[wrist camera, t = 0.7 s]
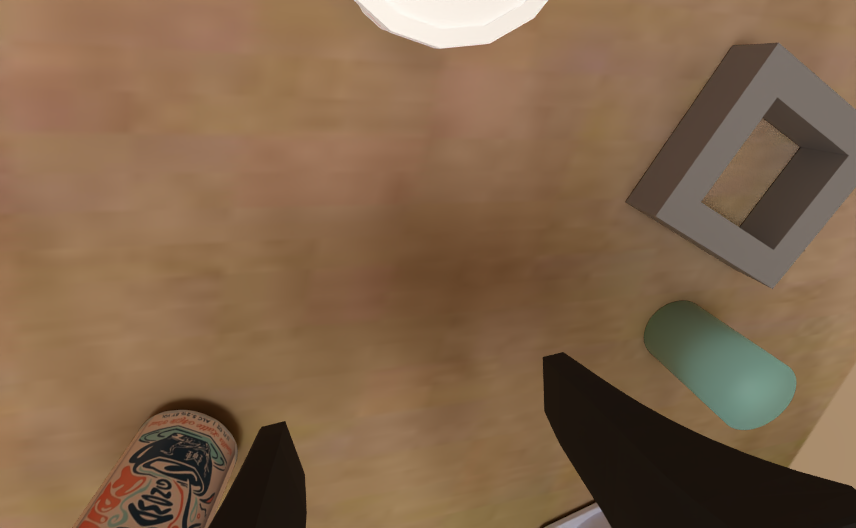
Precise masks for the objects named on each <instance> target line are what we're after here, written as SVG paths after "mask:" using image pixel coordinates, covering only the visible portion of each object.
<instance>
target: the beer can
mask: <svg viewBox="0 0 856 528" xmlns="http://www.w3.org/2000/svg"><path fill="white" fill-rule="evenodd" d="M237 453H238V450H237V444H236V442H235V440H234V437H233V435H232V434H231V433H230V432H229V431H228V430H227V429H226V427H225V426H224V425H223V424H221V423H220V422H219V421H218V420H216V419H214V418H212V417H210V416H208V415H206V414H203V413H200V412H196V411H191V410H173V411H165V412H162V413H159V414H157V415H154V416H153V417H151V418H149V419H148V420H147V421H146V422H145V423H144V424H143V425H142V426H141V428H140V429H139V431H138V433H137V434H136V436H135V437H134V438H133V440H132V441H131V443H130V444H129V446H128V447H127V449H126V450H125V452H124V453H123V454H122V456H121V457H120V459H119V460H118V462H117V463H116V465H115V466H114V468H113V469H112V470H111V472H110V473H109V475H108V476H107V478H106V479H105V481H104V482H103V484H102V485H101V486H100V488H99V489H98V491H97V492H96V494H95V495H94V497H93V498H92V499H91V501H90V502H89V504H88V505H87V507H86V508H85V510H84V511H83V513H82V514H81V515H80V517H79V518H78V520H77V521H76V523H75V524H74V526H73V527H72V528H208V527H209V525H210V523H211V522H212V520H213V517H214V515H215V512H216V510H217V507H218V505H219V502H220V500H221V497H222V495H223V493H224V490H225V488H226V485H227V483H228V480H229V478H230V475H231V473H232V470H233V468H234V466H235V463H236V460H237Z"/></svg>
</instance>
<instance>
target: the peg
mask: <svg viewBox="0 0 856 528" xmlns="http://www.w3.org/2000/svg"><path fill="white" fill-rule="evenodd" d="M644 343H645V346H646V348H647V349H648V351H649V352H650V353H651V354H652V355H653V356H654V357H656V358H657V359H658V360H659V361H660V362H661V363H662V364H663V365H664V366H665V367H666V368H667V369H668V370H669V371H670V372H672V373H673V374H674V375H675V376H676V377H677V378H678V379H679V380H680V381H681V382H682V383H683V384H684V385H685V386H687V387H688V388H689V389H690V390H691V391H692V392H693V393H694V394H695V395H696V396H697V397H698V398H699V399H700V400H702V401H703V402H704V403H705V404H706V405H707V406H708V407H709V408H710V409H711V410H712V411H713V412H714V413H715V414H717V415H718V416H719V417H720V418H721V419H722V420H723V421H724V422H725V423H726V424H727V425H729V426H730V427H732V428H735V429H739V430H750V429H755V428H758V427H761V426H763V425H765V424H767V423H769V422H771V421H772V420H774V419H775V418H776V417H778V416H779V415H780V414H781V413H782V412H783V411H784V410H785V409H786V407H787V406H788V405H789V403H790V402H791V400H792V398H793V396H794V393H795V389H796V377H795V374H794V372H793V371H792V369H791V368H790V367H788V366H787V365H786V364H784V363H783V362H781V361H780V360H778V359H777V358H775V357H774V356H772V355H771V354H769V353H768V352H766V351H765V350H763V349H762V348H760V347H759V346H757V345H756V344H754V343H753V342H751V341H750V340H748V339H747V338H745V337H744V336H742V335H741V334H739V333H738V332H737V331H735V330H734V329H732V328H731V327H729V326H728V325H726V324H725V323H723V322H722V321H720V320H719V319H717V318H716V317H714V316H713V315H711V314H710V313H708V312H707V311H705V310H704V309H702V308H701V307H699V306H698V305H696V304H695V303H693V302H690V301H676V302H672V303H670V304H667V305H665V306H664V307H662V308H661V309H659V310H658V311H657V312H656V313H655V314H654V315H653V316H652V317H651V319H650V320H649V322H648V324H647V326H646V328H645V332H644Z"/></svg>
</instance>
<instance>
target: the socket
mask: <svg viewBox="0 0 856 528" xmlns="http://www.w3.org/2000/svg"><path fill="white" fill-rule="evenodd" d="M762 118H764V119H765V120H767V121H768V122H769V123H770V124H772V125H773V126H774V127H776V128H777V129H778V130H779V131H781V132H782V133H783V134H784V135H786V136H787V137H788V138H790V139H791V140H792V141H793V142H795V143H796V144H797V145H799V146H800V147H801V148H800V149H799V150H798V152H797V153H796V154H795V156H794V157H793V158H792V159H791V161H790V162H789V163H788V165H787V166H786V167H785V169H784V170H783V171H782V173H781V174H780V175H779V176H778V178H777V179H776V180H775V182H774V183H773V184H772V186H771V187H770V188H769V190H768V191H767V192H766V193H765V195H764V196H763V197H762V199H761V200H760V201H759V203H758V204H757V205H756V207H755V208H754V209H753V210H752V212H751V213H750V214H749V216H748V217H747V218H746V220H745V221H744V222H743V224H742V225H741V226H740V227H738V226H736V225H735V224H733V223H732V222H730V221H729V220H727V219H726V218H724V217H723V216H721V215H720V214H718V213H717V212H715V211H714V210H712V209H711V208H709V207H708V206H706V205H705V204H703V203H701V201H702V200H703V198H704V197H705V196H706V194H707V193H708V192H709V190H710V189H711V187H712V186H713V185H714V183H715V182H716V181H717V179H718V178H719V177H720V175H721V174H722V172H723V171H724V170H725V168H726V167H727V166H728V164H729V163H730V161H731V160H732V159H733V157H734V156H735V155H736V153H737V152H738V150H739V149H740V148H741V146H742V145H743V144H744V142H745V141H746V140H747V138H748V137H749V135H750V134H751V133H752V131H753V130H754V129H755V127H756V126H757V124H758V123H759V122H760V120H761V119H762ZM855 187H856V109H854V108H853V107H852V106H851V105H850V104H849V103H847V102H846V101H845V100H844V99H843V98H842V97H841V96H839V95H838V94H837V93H836V92H835V91H834V90H833V89H831V88H830V87H829V86H828V85H827V84H826V83H824V82H823V81H822V80H821V79H820V78H819V77H818V76H816V75H815V74H814V73H813V72H812V71H811V70H809V69H808V68H807V67H806V66H805V65H804V64H803V63H801V62H800V61H799V60H798V59H797V58H796V57H795V56H793V55H792V54H791V53H790V52H789V51H788V50H786V49H785V48H784V47H783V46H782V45H781V44H780V43H767V44H751V45H735V46H732V47H731V49H730V50H729V52H728V53H727V55H726V56H725V58H724V59H723V61H722V62H721V63H720V65H719V66H718V68H717V69H716V71H715V72H714V74H713V75H712V77H711V78H710V80H709V81H708V82H707V84H706V85H705V87H704V88H703V90H702V91H701V93H700V94H699V96H698V97H697V99H696V100H695V101H694V103H693V104H692V106H691V107H690V109H689V110H688V112H687V113H686V115H685V116H684V117H683V119H682V120H681V122H680V123H679V125H678V126H677V128H676V129H675V131H674V132H673V134H672V135H671V136H670V138H669V139H668V141H667V142H666V144H665V145H664V147H663V148H662V150H661V151H660V153H659V154H658V155H657V157H656V158H655V160H654V161H653V163H652V164H651V166H650V167H649V169H648V170H647V172H646V173H645V174H644V176H643V177H642V179H641V180H640V182H639V183H638V185H637V186H636V188H635V189H634V190H633V192H632V193H631V195H630V196H629V198H628V199H627V201H626V203H628V204H630V205H631V206H633V207H634V208H636V209H638V210H639V211H641V212H643V213H644V214H646V215H647V216H649V217H651V218H652V219H654V220H656V221H657V222H659V223H660V224H662V225H664V226H665V227H667V228H669V229H670V230H672V231H673V232H675V233H677V234H678V235H680V236H681V237H683V238H685V239H686V240H688V241H690V242H691V243H693V244H694V245H696V246H698V247H699V248H701V249H703V250H704V251H706V252H707V253H709V254H711V255H712V256H714V257H716V258H717V259H719V260H720V261H722V262H724V263H725V264H727V265H729V266H730V267H732V268H733V269H735V270H737V271H739V272H741V273H743V274H745V275H747V276H749V277H751V278H753V279H754V280H756V281H758V282H760V283H762V284H764V285H766V286H768V287H770V288H772V289H773V288H774V287H775V285H776V284H777V283H778V282H779V281H780V279H781V278H782V277H783V276H784V274H785V273H786V272H787V271H788V270H789V268H790V267H791V266H792V265H793V263H794V262H795V261H796V260H797V258H798V257H799V256H800V255H801V254H802V252H803V251H804V250H805V249H806V247H807V246H808V245H809V244H810V243H811V241H812V240H813V239H814V238H815V236H816V235H817V234H818V233H819V231H820V230H821V229H822V228H823V227H824V225H825V224H826V223H827V222H828V220H829V219H830V218H831V217H832V216H833V214H834V213H835V212H836V211H837V209H838V208H839V207H840V206H841V204H842V203H843V202H844V201H845V200H846V198H847V197H848V196H849V195H850V193H851V192H852V191H853V190H854V189H855Z"/></svg>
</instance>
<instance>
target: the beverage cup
mask: <svg viewBox="0 0 856 528" xmlns="http://www.w3.org/2000/svg"><path fill="white" fill-rule="evenodd" d="M354 1H355V2H356V3H357V4H358V5H359V6H360V8H361V10H362V12H363V13H364V14H365V15H366V16H367V17H368V18H370V19H371V20H372V21H373V22H374V23H375V24H376V25H377V26H378V27H380V28H381V29H383V30H386V31H388V32H390V33H393V34H395V35H398V36H401V37H404V38H407V39H410V40H413V41H415V42H418V43H421V44H424V45H427V46H430V47H433V48H438V49H441V48H451V47H461V46H472V45H482V44H489V43H491V42H493V41H495V40H497V39H498V38H500V37H502V36H503V35H505V34H507V33H509V32H510V31H512V30H514V29H516V28H517V27H519V26H521V25H523V24H524V23H526V22H528V21H530V20H531V19H533V18H534V17H535V16H536V15H537V14H538V12H539V11H540V10H541V9H542V7H543V6H544V5H545V3H546V2H547V1H548V0H354Z"/></svg>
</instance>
